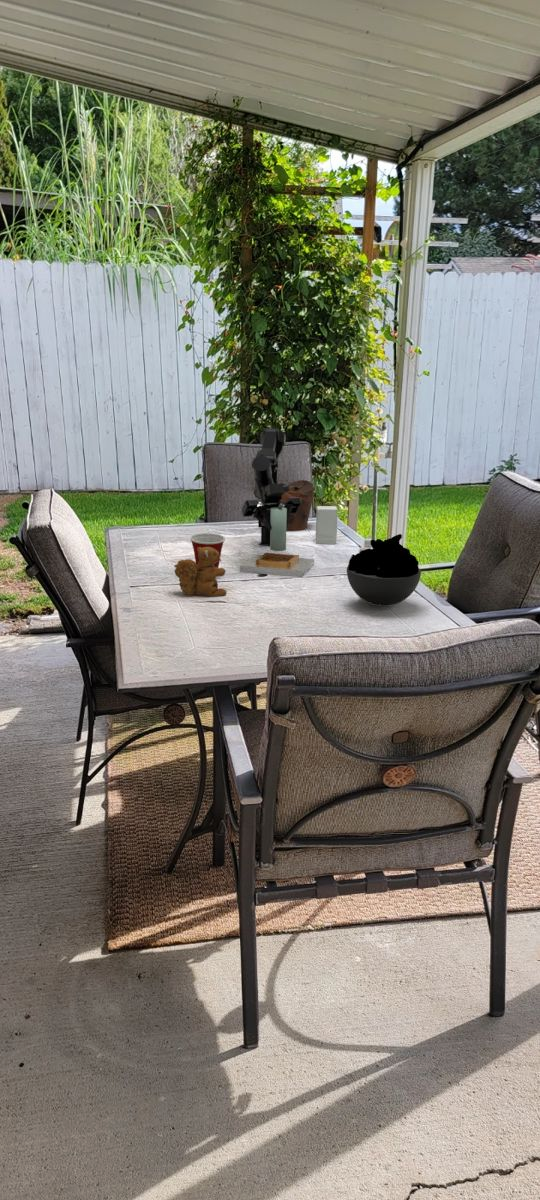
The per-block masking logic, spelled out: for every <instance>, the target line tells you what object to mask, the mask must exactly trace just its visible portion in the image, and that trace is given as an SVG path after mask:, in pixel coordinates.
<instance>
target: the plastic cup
mask: <svg viewBox="0 0 540 1200" xmlns="http://www.w3.org/2000/svg"><path fill="white" fill-rule="evenodd" d="M189 540H190V542H191V545H192V548H193V554H194V562H195V563H196V564H197V565H198V562H199V558H198V551H197V548H198V547H201V548H203V547H212V548H214V549H215V550H217V551H218V552H219V556H220V557H221V555H222V551H223V550H222V548H223V545H224V542H225V541H226V537H225V536H224V535H221V534H219V533H214V532H213V533H212V532H199V533H194V534H192V535H191V536H189ZM220 559H221V558H220ZM220 559H219V560H218V562H216V563H215V564H214V566H215V567H217V568H219V566H220V563H221V562H220Z"/></svg>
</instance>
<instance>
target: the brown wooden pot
mask: <svg viewBox="0 0 540 1200" xmlns="http://www.w3.org/2000/svg"><path fill="white" fill-rule="evenodd" d="M288 485H289V491H288V492H287V493H285V494H283V495H282V499H281V500H280V502H286V501H287V499H288V498H291V497H299V498H300V499H301V501H302V505H301V507H300V508H299V510H298V512H297V513H295V514H289V515H288V528H287V529H286V531H302V530H305V529H306V528H307V527H308V523H309V518H310V514H311V508H312V504H313V500H314V498H315V493H314V492H315V487H314V484H313V483H312V482H311V481H308V480H305V479H302V480H301V479H300V480H296V481H292V482H289V483H288Z"/></svg>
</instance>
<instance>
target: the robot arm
mask: <svg viewBox="0 0 540 1200" xmlns="http://www.w3.org/2000/svg"><path fill="white" fill-rule="evenodd" d="M286 440H287V438H286V432H283V431H281V430H279V429H278V428H277V427H276V428H273V427H272V428H271V427H269V428H268V427H267V428H263V431H261V432H260V441H259V442H260V444H261V449H260V450H258V451H257V452H256V454H255V457H253V460H252V462H251V468H252V471H253V472H252V473H253V480H254V482H255V483H254V484H255V487H256V490H257V493H258V495H257V498H256V499H255V498H254V499H246V500H245V501H244V503H243V506H242V508H241V513H242V516H243V517H245V518H246V517H252V518H253V519H257V525H258V528H260V537H261V538H260V543H259V545H262V546H270V530H271V529H272V527H271V523H270V519H271V508H273V507H279V504H280V503H282V504H283V507H284V508H287V521H286V529H287V528H288V515H289V514H295V513H297V512H298V510H299V508H300V507H301V505H302V501H301V499H300V498H299V497H291V498H288V499H287V501H286V502H280V500H281V499H282V495H283V494H285V493H287V492H288V491H289V485H288V484H289V483H288V481H282V482H281V483H279V481H278V480H279V466H280V460H279V458H280V457H281V455H282V454H283V453H284V446H285V447H286V443H287V442H286Z"/></svg>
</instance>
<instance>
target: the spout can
mask: <svg viewBox="0 0 540 1200" xmlns="http://www.w3.org/2000/svg"><path fill="white" fill-rule="evenodd" d="M286 521H287V508H284V507H283V504H282V503H280V504H279V507H273V508H271V519H270V523H271V527H272V529H271V530H270V545H269V550H270V551H272V552H273V551H274V552H283V551H286V550H287V530H286Z"/></svg>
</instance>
